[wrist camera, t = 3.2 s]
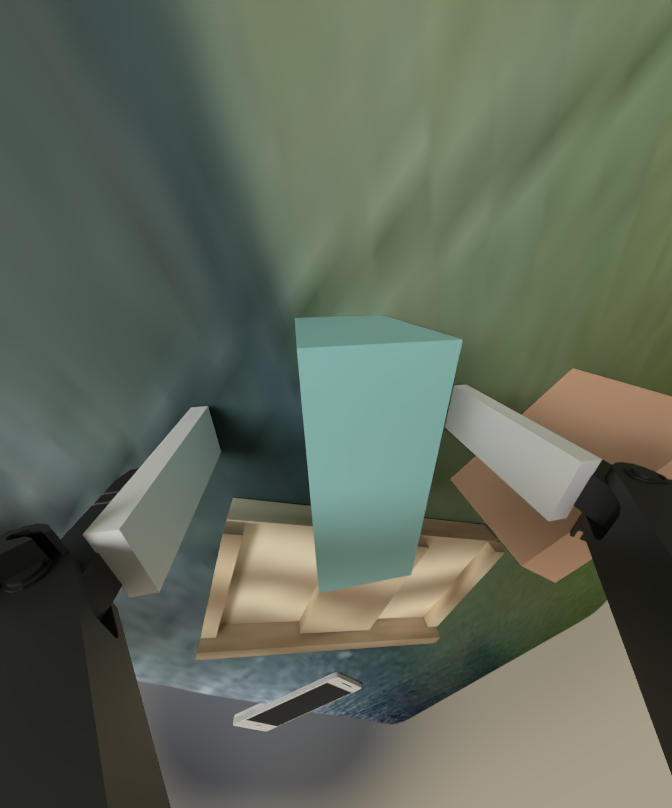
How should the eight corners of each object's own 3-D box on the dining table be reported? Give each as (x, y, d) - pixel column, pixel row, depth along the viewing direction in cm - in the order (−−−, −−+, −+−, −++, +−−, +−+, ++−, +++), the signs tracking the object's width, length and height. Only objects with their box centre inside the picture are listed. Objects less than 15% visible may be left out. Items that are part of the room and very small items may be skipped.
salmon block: (570, 367, 14) (736, 415, 9) (593, 401, 16) (747, 458, 10) (449, 478, 17) (521, 566, 11) (479, 497, 18) (555, 582, 13)
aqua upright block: (294, 317, 10) (296, 348, 5) (380, 314, 11) (462, 339, 6) (309, 484, 15) (318, 593, 10) (370, 476, 15) (411, 575, 10)
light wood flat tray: (233, 497, 14) (219, 545, 12) (484, 524, 20) (513, 561, 17) (208, 607, 19) (194, 660, 16) (419, 603, 24) (434, 642, 22)
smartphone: (232, 715, 30) (231, 727, 30) (336, 666, 29) (337, 678, 28) (266, 721, 34) (266, 733, 33) (360, 678, 32) (362, 689, 32)
